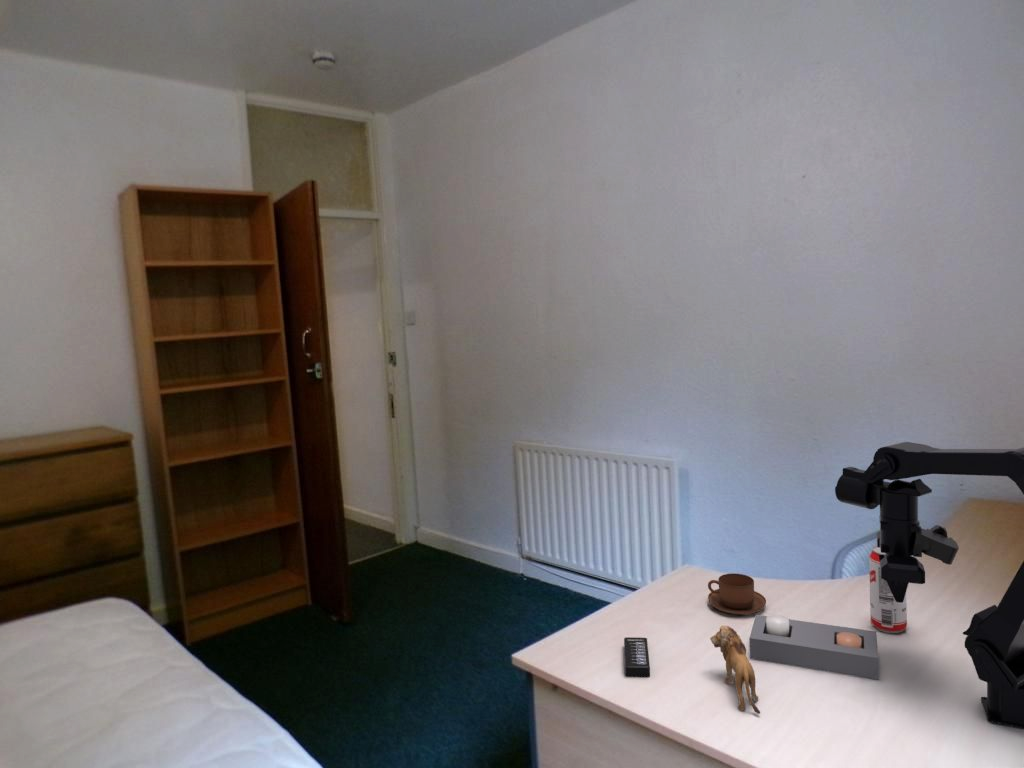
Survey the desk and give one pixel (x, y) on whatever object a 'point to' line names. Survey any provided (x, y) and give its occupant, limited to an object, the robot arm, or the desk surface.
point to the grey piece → (777, 625)
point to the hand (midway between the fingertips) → (899, 601)
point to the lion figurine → (736, 664)
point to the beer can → (884, 600)
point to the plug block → (816, 648)
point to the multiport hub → (636, 657)
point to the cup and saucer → (736, 595)
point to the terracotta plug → (849, 640)
